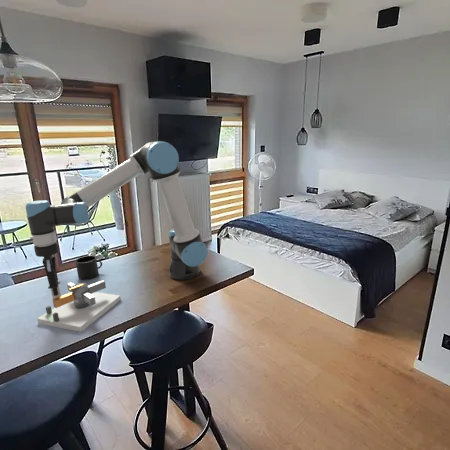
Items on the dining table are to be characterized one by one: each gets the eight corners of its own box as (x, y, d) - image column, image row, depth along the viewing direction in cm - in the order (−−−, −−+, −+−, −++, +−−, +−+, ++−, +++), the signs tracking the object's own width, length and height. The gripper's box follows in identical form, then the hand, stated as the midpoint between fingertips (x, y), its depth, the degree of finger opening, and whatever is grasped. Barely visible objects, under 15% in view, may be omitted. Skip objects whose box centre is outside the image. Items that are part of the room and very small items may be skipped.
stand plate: (120, 299, 133) (119, 289, 131) (79, 333, 111) (76, 320, 110) (82, 294, 139) (80, 283, 138) (36, 324, 117) (33, 312, 116)
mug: (106, 274, 158) (103, 257, 155) (81, 282, 151) (78, 264, 148) (100, 269, 165) (97, 252, 162) (76, 275, 158) (73, 259, 155)
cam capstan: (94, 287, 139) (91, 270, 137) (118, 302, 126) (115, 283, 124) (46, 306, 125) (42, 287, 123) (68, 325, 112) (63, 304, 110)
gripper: (35, 240, 118) (47, 296, 125) (31, 250, 107) (45, 312, 114) (57, 236, 121) (68, 291, 128) (56, 246, 110) (68, 306, 117)
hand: (57, 301), depth 121 cm, fingers closed
